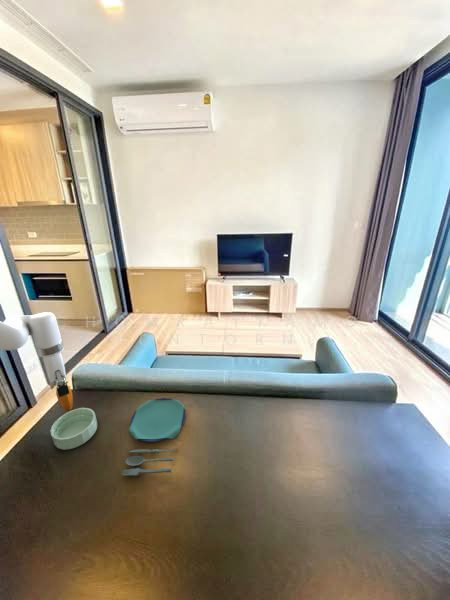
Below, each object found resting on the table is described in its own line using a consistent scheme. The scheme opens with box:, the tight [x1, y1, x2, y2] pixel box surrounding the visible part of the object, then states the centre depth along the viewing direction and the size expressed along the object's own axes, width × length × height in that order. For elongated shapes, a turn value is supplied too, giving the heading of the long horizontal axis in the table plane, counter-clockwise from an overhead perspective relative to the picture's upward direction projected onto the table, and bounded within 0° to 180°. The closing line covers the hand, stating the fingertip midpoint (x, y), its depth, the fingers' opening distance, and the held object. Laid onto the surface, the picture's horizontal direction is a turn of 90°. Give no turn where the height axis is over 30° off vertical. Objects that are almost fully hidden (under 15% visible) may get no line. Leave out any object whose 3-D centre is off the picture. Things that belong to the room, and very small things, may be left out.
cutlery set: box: [121, 397, 187, 477], centre depth 86 cm, size 20×30×2 cm, turn 1°
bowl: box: [49, 407, 98, 451], centre depth 86 cm, size 13×13×5 cm
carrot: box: [55, 376, 74, 412], centre depth 94 cm, size 5×5×15 cm
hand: (61, 387), depth 92 cm, fingers open, 9 cm apart
